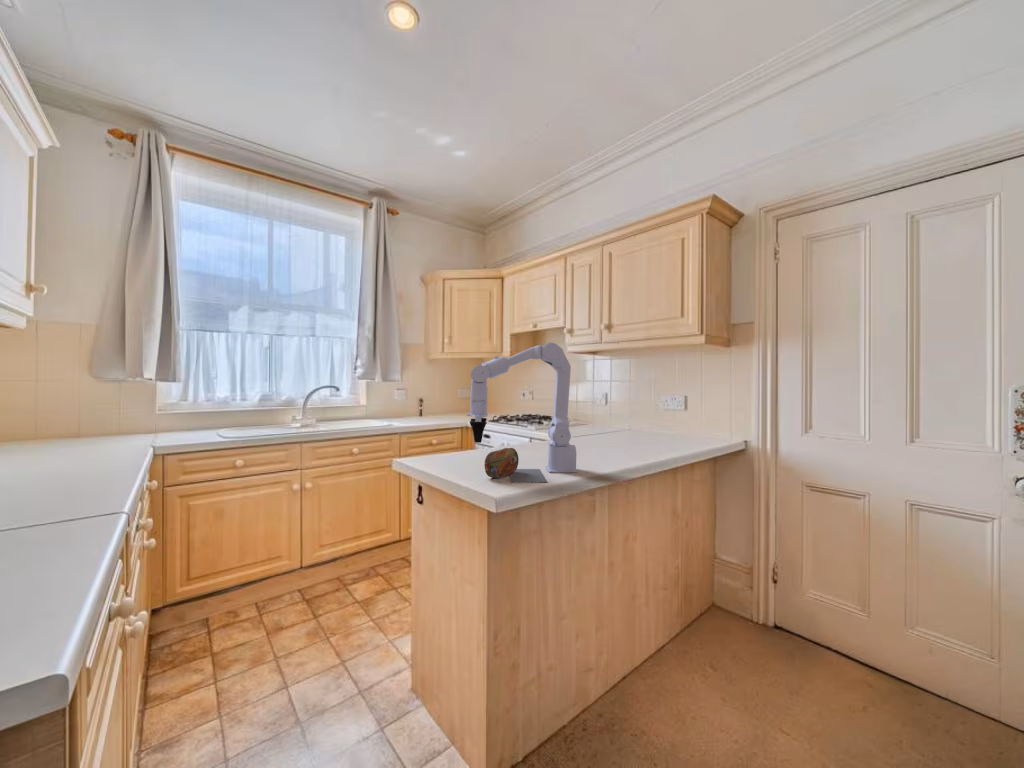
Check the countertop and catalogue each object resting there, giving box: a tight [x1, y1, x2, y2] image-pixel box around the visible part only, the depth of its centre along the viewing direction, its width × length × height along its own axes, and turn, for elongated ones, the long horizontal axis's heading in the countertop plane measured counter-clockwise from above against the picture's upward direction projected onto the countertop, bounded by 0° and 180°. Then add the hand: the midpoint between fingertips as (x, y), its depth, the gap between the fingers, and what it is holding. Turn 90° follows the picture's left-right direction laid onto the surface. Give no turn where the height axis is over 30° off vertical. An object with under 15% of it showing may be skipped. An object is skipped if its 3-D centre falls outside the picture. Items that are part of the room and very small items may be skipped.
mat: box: [508, 468, 548, 484], centre depth 134 cm, size 11×17×1 cm, turn 4°
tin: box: [484, 447, 519, 479], centre depth 134 cm, size 15×3×8 cm, turn 143°
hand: (478, 440), depth 141 cm, fingers open, 7 cm apart
